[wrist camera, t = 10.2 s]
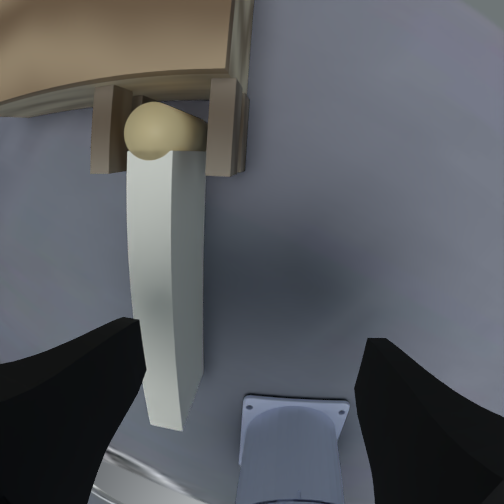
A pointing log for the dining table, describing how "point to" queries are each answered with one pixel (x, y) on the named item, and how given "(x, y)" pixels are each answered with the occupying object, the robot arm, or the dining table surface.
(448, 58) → the dining table surface
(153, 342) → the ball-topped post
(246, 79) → the cabinet
